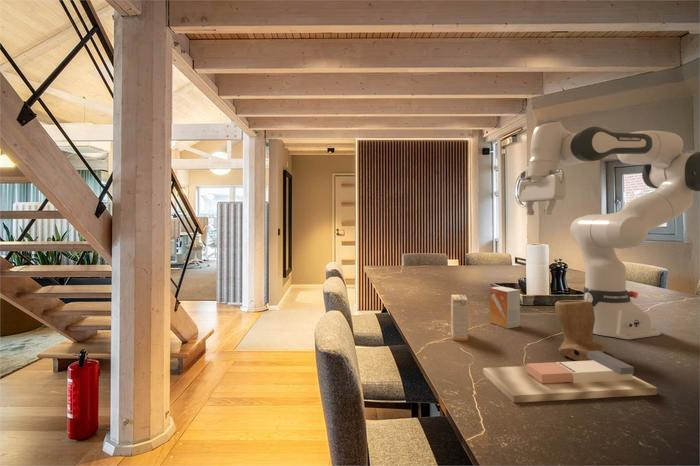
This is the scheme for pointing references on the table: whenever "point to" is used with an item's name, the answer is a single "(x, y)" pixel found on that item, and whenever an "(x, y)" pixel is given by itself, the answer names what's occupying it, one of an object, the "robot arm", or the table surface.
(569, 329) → the brown suede boot
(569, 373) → the pink flat block
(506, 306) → the small box
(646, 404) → the table surface
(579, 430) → the table surface
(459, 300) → the supplement box
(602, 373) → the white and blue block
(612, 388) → the holder board
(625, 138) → the robot arm
